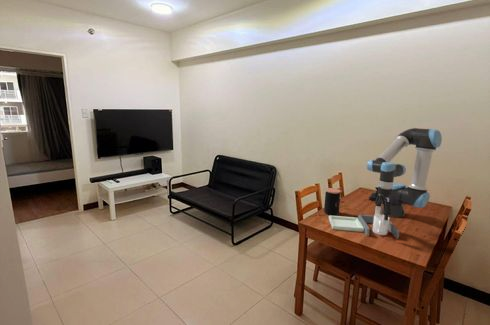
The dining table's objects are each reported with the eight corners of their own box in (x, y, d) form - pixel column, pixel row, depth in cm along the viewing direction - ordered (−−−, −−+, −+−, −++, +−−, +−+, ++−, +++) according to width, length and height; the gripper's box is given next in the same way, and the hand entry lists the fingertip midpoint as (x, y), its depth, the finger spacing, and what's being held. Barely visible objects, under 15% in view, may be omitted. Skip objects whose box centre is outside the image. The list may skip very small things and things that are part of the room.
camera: (370, 185, 223) (374, 180, 234) (368, 201, 227) (373, 195, 238) (391, 189, 213) (394, 184, 224) (389, 205, 217) (392, 199, 228)
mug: (370, 235, 163) (372, 219, 161) (373, 228, 173) (375, 212, 171) (385, 239, 159) (388, 222, 157) (388, 231, 168) (390, 216, 166)
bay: (385, 223, 181) (386, 216, 180) (398, 238, 159) (399, 231, 158) (357, 221, 183) (358, 214, 182) (366, 236, 162) (367, 228, 161)
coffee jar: (336, 217, 190) (339, 193, 187) (322, 213, 196) (324, 190, 192) (340, 212, 199) (342, 189, 195) (326, 209, 205) (327, 187, 201)
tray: (356, 220, 184) (357, 217, 183) (363, 232, 167) (364, 228, 167) (328, 218, 187) (328, 215, 186) (332, 229, 170) (332, 225, 170)
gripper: (372, 181, 172) (368, 212, 177) (386, 193, 148) (381, 228, 152) (384, 182, 171) (380, 213, 175) (400, 194, 147) (395, 229, 151)
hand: (380, 220), depth 164 cm, fingers open, 13 cm apart
